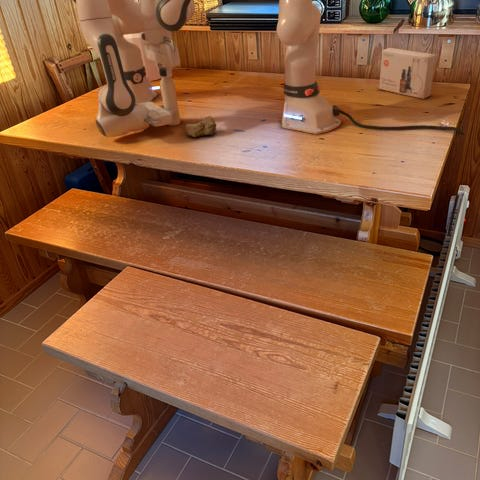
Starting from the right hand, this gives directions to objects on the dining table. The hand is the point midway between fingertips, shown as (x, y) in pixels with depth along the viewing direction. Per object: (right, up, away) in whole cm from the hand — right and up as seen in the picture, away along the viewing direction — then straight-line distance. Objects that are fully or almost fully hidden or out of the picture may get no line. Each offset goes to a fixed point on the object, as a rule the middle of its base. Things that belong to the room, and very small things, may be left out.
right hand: (165, 75), depth 172 cm
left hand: (+2, -10, +8) cm, 13 cm away
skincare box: (+95, -1, +17) cm, 96 cm away
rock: (+13, -22, -1) cm, 26 cm away
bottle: (+2, -15, +10) cm, 18 cm away
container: (-21, +25, +72) cm, 79 cm away
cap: (0, +2, -1) cm, 2 cm away
